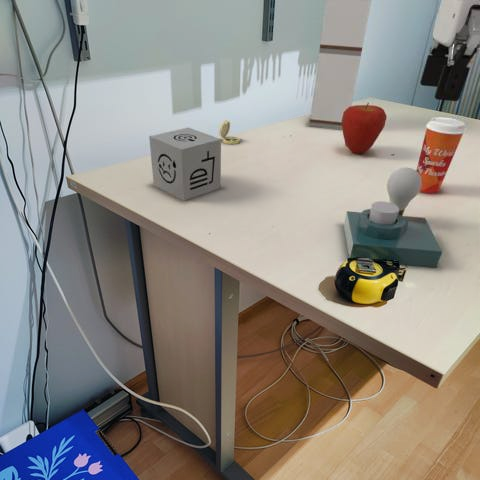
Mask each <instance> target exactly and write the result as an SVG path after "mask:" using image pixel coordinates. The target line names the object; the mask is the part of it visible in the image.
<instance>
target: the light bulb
mask: <svg viewBox="0 0 480 480" xmlns="http://www.w3.org/2000/svg"><path fill="white" fill-rule="evenodd" d="M416 170H417V169H414V168H413V167H409V166H408V167H407V166H406V167H400V168H398V169H396V170H395V171H393V172H392V173H391V175H390V176H389V178H388V180H387V183H386V190H387V194H388V197H389V203H392V204H395V205H396V206H398V207H399V212H398V214H399V215H400V216H404V212H405V211H406V208H407V207H408V206H409V204H410V202H411V201H413V200H414V198H416V197H417V196H418V195H419V193H420V192H419V191H420V189H421V185H422V180H421V177H420V175H419V173H418V172H417V171H416Z"/></svg>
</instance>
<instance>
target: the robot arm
mask: <svg viewBox="0 0 480 480" xmlns="http://www.w3.org/2000/svg"><path fill="white" fill-rule="evenodd" d="M432 39H433V41H432V43H431V45H430V47H429V51H428V54H427V57H426V61H425V64H424V67H423V71H422V75H421V78H420V81H419V83H420V85H421V86H423V87H432V88H433V87H434V88H436V90H435V93H434V99H435V100H438V101H448V102H449V101H450V102H458V101H459V100H460V98H461V96H462V92H463V90H464V86H465V84H466V81H467V78H468V75H469V72H470V69H471V67H472V65H473V63H474V57H475V55H476V54H477V52H478V50H480V0H440V4H439V8H438V11H437V15H436V18H435V22H434V27H433V31H432Z"/></svg>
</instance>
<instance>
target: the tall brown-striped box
mask: <svg viewBox="0 0 480 480" xmlns="http://www.w3.org/2000/svg"><path fill="white" fill-rule="evenodd" d="M372 1H373V0H325V7H324V14H323V21H322V29H321V35H320V43H319V50H318V57H317V64H316V71H315V79H314V88H313V93H312V94H313V95H312V100H311V101H312V103H311V107H310V115H309V124H308V127H312V128H322V129H331V130H339V131H343V129H342V117H343V113H344V111H345V110H346V109H347V108H348V107H351V106H353V105H352V104H353V99H354V94H355V89H356V83H357V79H358V73H359V68H360V62H361V57H362V52H363V47H364V42H365V36H366V32H367V28H368V27H367V26H368V21H369V16H370V12H371V11H370V10H371V5H372Z"/></svg>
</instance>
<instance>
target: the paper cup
mask: <svg viewBox="0 0 480 480" xmlns="http://www.w3.org/2000/svg"><path fill="white" fill-rule="evenodd" d="M425 128H426V129H425V134H424V137H423V138H424V139H423V141H422V145H421V150H420V154H419V158H418V162H417V166H416V169H415V170H416V171H417V172H418V173H419V175H420V177H421V180H422V185H421V189H420V191H419V193H424V194H430V195H431V194H437V193H438V192H440V189H441V186H442V185H443V182H444V180H445V177H446V175H447V172H448V170H449V168H450V165H451V163H452V161H453V158H454V156H455V153H456V151H457V149H458V147H459V144H460V143H461V142H460V141H461V140H462V137H463V135H464V134H466V133H467V126H466V123H465V122H464V121H462V120H459V119H455V118H451V117H442V116H441V117H439V116H438V117H432V118H430V121H428V122H427V124H426V125H425Z"/></svg>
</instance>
